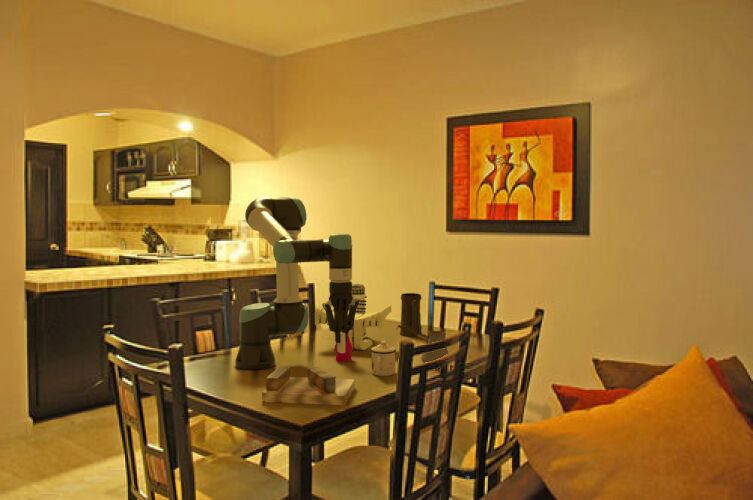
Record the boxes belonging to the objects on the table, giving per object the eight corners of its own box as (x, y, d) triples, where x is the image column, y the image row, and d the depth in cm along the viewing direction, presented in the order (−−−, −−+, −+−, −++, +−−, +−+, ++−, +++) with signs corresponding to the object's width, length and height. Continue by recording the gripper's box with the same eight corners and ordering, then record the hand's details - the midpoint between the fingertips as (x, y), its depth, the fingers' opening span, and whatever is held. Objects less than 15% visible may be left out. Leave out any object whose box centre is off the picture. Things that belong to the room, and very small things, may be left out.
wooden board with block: (262, 401, 184) (261, 379, 183) (279, 385, 202) (279, 365, 201) (344, 405, 180) (344, 382, 180) (354, 388, 198) (354, 367, 198)
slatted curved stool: (315, 348, 258) (314, 307, 257) (328, 340, 273) (328, 302, 272) (381, 353, 249) (381, 310, 248) (391, 345, 264) (391, 305, 263)
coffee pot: (452, 362, 233) (453, 324, 232) (448, 370, 222) (448, 330, 221) (399, 359, 238) (399, 322, 238) (392, 366, 227) (393, 327, 227)
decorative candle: (351, 334, 288) (351, 283, 286) (369, 335, 285) (369, 283, 283) (344, 337, 279) (344, 285, 278) (362, 339, 276) (362, 285, 275)
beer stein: (396, 332, 292) (397, 292, 290) (416, 331, 295) (417, 291, 293) (407, 340, 278) (408, 299, 275) (428, 339, 281) (429, 298, 278)
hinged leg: (307, 380, 196) (307, 366, 196) (317, 378, 198) (317, 365, 198) (327, 393, 182) (327, 379, 181) (337, 391, 183) (337, 377, 183)
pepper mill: (350, 362, 233) (349, 311, 232) (332, 361, 234) (332, 311, 233) (354, 358, 240) (354, 309, 239) (337, 357, 242) (337, 308, 240)
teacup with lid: (374, 369, 223) (374, 338, 222) (398, 370, 221) (398, 339, 220) (365, 377, 212) (365, 345, 211) (390, 379, 209) (390, 346, 208)
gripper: (328, 283, 188) (329, 356, 189) (363, 280, 195) (364, 351, 196) (317, 281, 194) (318, 352, 195) (351, 279, 201) (352, 347, 203)
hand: (341, 352), depth 196 cm, fingers closed
